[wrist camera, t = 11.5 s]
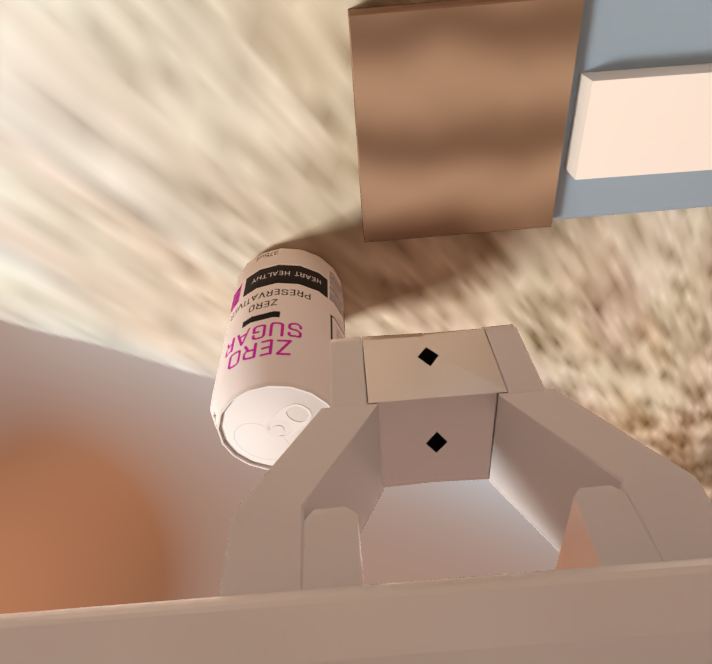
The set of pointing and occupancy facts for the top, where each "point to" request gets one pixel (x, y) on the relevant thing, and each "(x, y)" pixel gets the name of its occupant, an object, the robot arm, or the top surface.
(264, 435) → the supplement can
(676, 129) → the cream rectangular block
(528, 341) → the top surface
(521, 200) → the brown square tile
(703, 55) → the mat
